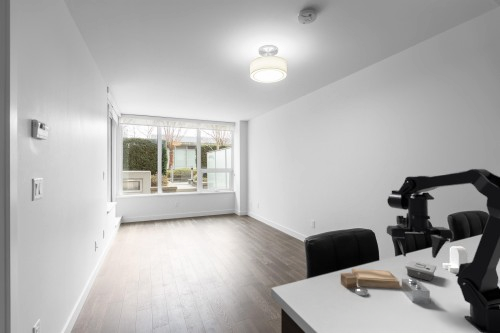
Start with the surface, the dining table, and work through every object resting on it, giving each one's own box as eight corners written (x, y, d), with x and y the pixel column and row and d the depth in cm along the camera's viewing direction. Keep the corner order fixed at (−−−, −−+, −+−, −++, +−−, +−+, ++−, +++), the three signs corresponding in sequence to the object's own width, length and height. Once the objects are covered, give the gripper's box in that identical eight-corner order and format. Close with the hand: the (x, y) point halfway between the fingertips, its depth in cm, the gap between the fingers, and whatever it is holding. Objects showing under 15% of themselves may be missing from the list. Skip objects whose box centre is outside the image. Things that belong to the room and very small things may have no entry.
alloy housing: (429, 305, 78) (429, 288, 78) (412, 303, 79) (412, 287, 79) (417, 292, 86) (417, 277, 86) (401, 291, 87) (401, 276, 87)
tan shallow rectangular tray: (399, 288, 88) (399, 280, 88) (358, 285, 90) (358, 278, 90) (389, 277, 97) (389, 270, 97) (351, 275, 99) (351, 268, 99)
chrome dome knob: (369, 297, 82) (369, 293, 82) (356, 296, 83) (356, 292, 83) (365, 291, 86) (365, 287, 86) (353, 290, 87) (353, 286, 87)
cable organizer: (442, 267, 106) (441, 244, 106) (466, 268, 105) (466, 245, 105) (450, 272, 101) (450, 248, 101) (477, 273, 100) (476, 249, 100)
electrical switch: (434, 273, 92) (405, 261, 98) (430, 285, 92) (402, 274, 98) (437, 265, 98) (410, 255, 105) (434, 277, 99) (408, 267, 105)
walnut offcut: (356, 288, 89) (356, 277, 89) (346, 289, 88) (346, 278, 88) (350, 283, 92) (350, 272, 92) (340, 284, 92) (340, 273, 92)
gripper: (435, 208, 92) (436, 250, 91) (381, 207, 95) (382, 248, 95) (453, 213, 81) (455, 261, 80) (391, 212, 84) (393, 258, 84)
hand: (419, 256), depth 85 cm, fingers open, 9 cm apart
